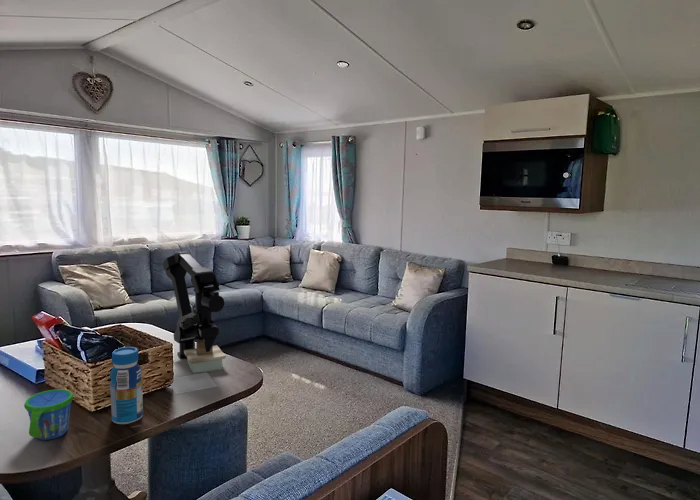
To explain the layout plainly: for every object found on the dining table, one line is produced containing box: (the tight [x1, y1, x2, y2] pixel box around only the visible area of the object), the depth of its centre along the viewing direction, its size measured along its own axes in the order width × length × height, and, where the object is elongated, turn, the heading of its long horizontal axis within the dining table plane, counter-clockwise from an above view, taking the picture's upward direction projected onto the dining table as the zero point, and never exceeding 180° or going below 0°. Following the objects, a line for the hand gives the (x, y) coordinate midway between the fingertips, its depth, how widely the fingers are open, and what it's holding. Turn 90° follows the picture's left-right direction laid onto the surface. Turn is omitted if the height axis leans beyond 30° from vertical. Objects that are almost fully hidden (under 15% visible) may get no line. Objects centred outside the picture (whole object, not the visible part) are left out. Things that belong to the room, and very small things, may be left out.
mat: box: [170, 372, 218, 395], centre depth 158 cm, size 13×13×1 cm
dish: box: [186, 358, 223, 375], centre depth 171 cm, size 10×10×4 cm
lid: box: [184, 339, 227, 364], centre depth 171 cm, size 12×12×6 cm
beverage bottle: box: [109, 346, 144, 425], centre depth 133 cm, size 8×8×20 cm
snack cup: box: [23, 388, 74, 441], centre depth 124 cm, size 16×10×10 cm
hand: (204, 347), depth 171 cm, fingers open, 9 cm apart
